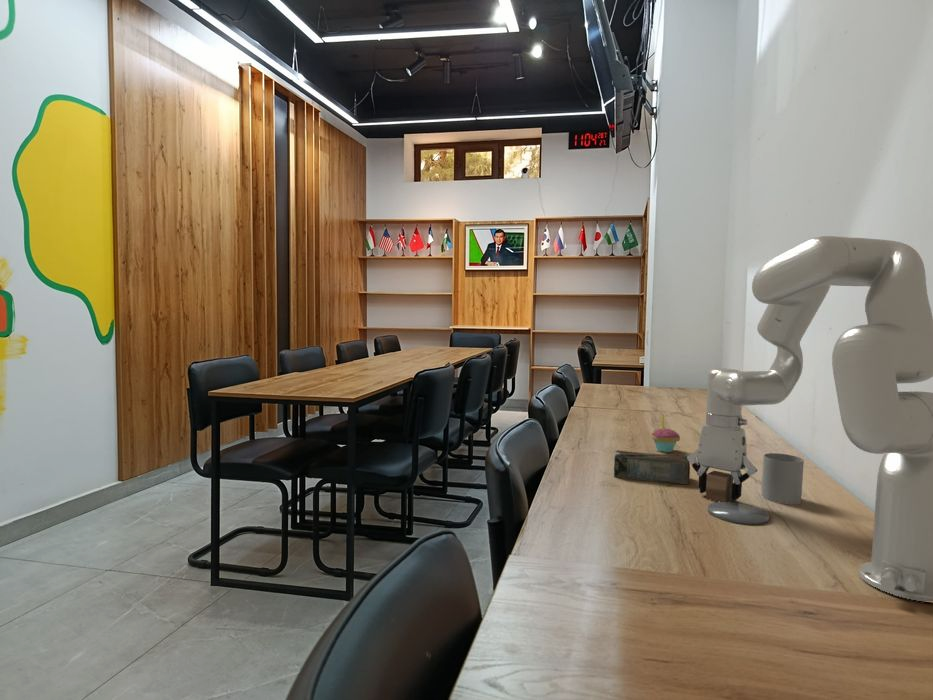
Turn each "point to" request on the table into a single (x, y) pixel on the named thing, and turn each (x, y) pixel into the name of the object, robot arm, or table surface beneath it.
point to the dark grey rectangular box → (652, 467)
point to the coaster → (738, 513)
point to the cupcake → (665, 438)
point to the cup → (782, 478)
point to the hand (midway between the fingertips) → (719, 494)
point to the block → (719, 486)
